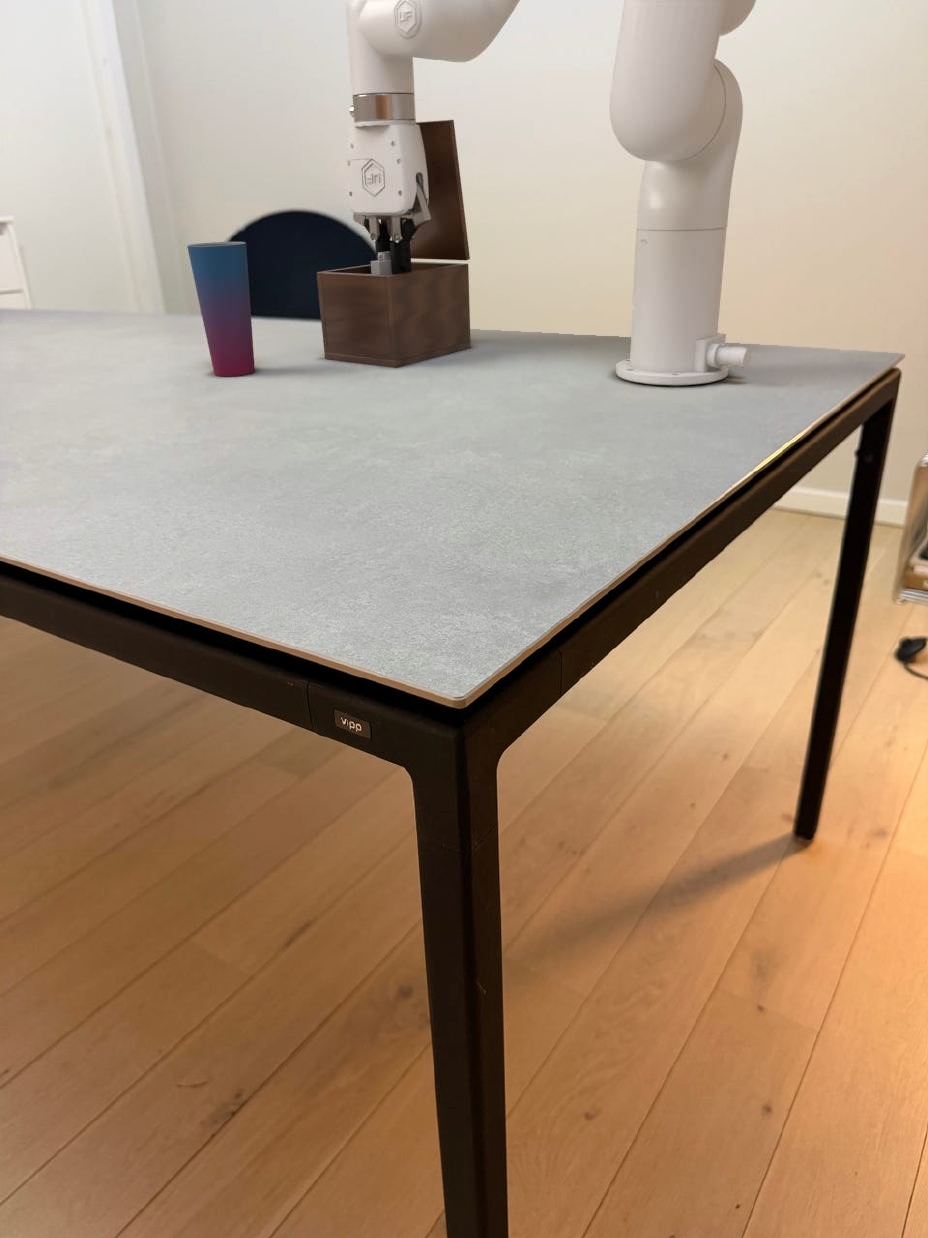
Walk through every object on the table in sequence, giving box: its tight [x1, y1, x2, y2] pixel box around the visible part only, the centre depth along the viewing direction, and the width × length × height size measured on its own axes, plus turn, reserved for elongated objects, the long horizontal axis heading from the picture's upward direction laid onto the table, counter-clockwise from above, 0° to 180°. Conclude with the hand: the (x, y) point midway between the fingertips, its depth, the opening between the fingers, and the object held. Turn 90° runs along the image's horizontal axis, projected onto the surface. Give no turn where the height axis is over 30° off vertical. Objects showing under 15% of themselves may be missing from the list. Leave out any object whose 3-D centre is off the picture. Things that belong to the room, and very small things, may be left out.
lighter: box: [370, 240, 413, 275], centre depth 119 cm, size 7×2×8 cm, turn 143°
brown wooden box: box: [316, 260, 472, 368], centre depth 122 cm, size 16×13×11 cm
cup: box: [186, 241, 256, 377], centre depth 112 cm, size 7×7×15 cm
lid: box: [390, 119, 471, 262], centre depth 121 cm, size 16×13×5 cm
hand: (394, 273), depth 120 cm, fingers closed on lighter, 1 cm apart
